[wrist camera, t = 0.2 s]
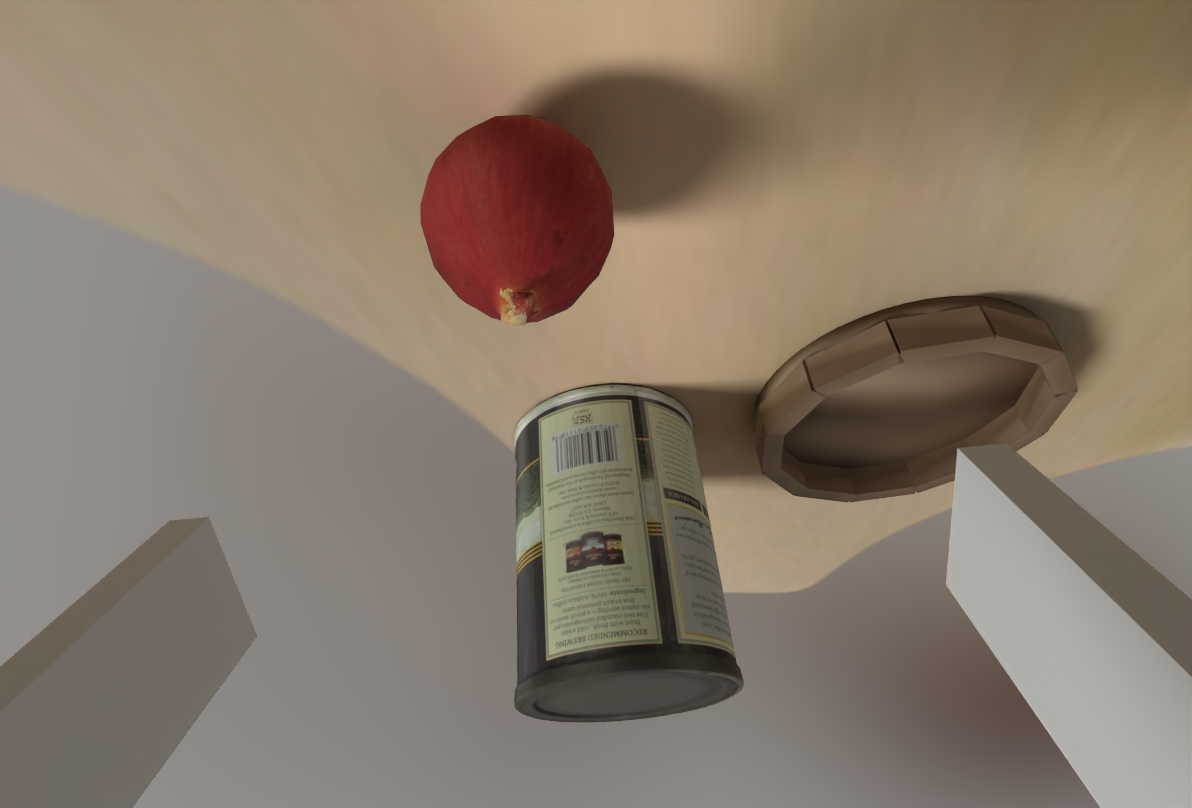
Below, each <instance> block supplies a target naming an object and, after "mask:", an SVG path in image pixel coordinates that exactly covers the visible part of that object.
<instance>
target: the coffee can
mask: <svg viewBox="0 0 1192 808" xmlns="http://www.w3.org/2000/svg"><path fill="white" fill-rule="evenodd" d="M514 448H515V459H516V547H517V548H516V549H517V648H518V649H517V650H518V653H517V667H518V668H517V673H518V681H517V687H516V689H515V699H514V701H515V702H514V703H515V708H516V709H517V710H518V711H519V712H520V713H522V714H524V715H527V716H530V717H533V718H537V719H542V720H549V721H558V722H609V721H623V720H635V719H643V718H652V717H658V716H665V715H670V714H675V713H682V712H687V711H691V710H695V709H699V708H703V707H706V706H709V705H713V704H716V703H719V702H721V701H723V700H726V699H728V698H730V697H732V696H734V695H735V694H737V693H738V692H740V691H741V690H742V688H743V678H742V674H741V670H740V668H739V666H738V665H737V663H736V658H735V652H734V647H733V642H732V637H731V632H730V626H729V621H728V615H727V610H726V605H725V599H724V595H723V590H722V584H721V579H720V574H719V568H718V563H717V558H716V553H715V547H714V542H713V537H712V532H711V525H710V521H709V516H708V511H707V505H706V500H705V495H704V489H703V484H702V479H701V473H700V468H699V463H698V458H697V452H696V447H695V442H694V435H693V423H692V419H691V416H690V414H689V413H688V411H687V410H686V409H685V408H684V406H683V405H681V404H680V403H679V402H677V401H676V400H675V399H674V398H672V397H669V396H667V395H665V394H663V393H661V392H658V391H655V390H652V389H649V388H644V387H637V386H631V385H612V384H608V385H600V386H592V387H584V388H580V389H575V390H571V391H568V392H565V393H562V394H559V395H557V396H554V397H552V398H550V399H548V400H546V401H544V402H542V403H540V404H538V405H537V406H536V407H535V408H534V409H532V410H531V411H529V412H528V413H527V414H526V415H525V416H524V417H523V418H522V419H521V421H520V422H519V424H518V426H517V428H516V430H515V434H514Z"/></svg>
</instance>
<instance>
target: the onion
mask: <svg viewBox="0 0 1192 808" xmlns="http://www.w3.org/2000/svg"><path fill="white" fill-rule="evenodd" d="M421 226H422V229H423V232H424V235H425V239H426V242H427V245H428V249H429V252H430V255H431V258H432V262H433V265H434V267H435V269H436V270H437V271H438V273H439V274H440V275H441V277H442V278H443V279H444V280H445V282H446V283H447V284H448V285H449V286H450V288H451V289H452V290H453V291H454V292H455V293H456V295H457V296H458V297H459V298H460V299H461V300H463V301H464V302H465V303H467V304H469V305H471V306H473V307H475V308H476V309H478V310H480V311H481V312H483V313H484V314H486V315H488V316H489V317H491V318H495V319H498V320H502V321H504V322H505V323H507V324H510V325H517V326H520V325H525V324H526V323H529V322H538V321H541V320H543V319H546V318H548V317H550V316H553V315H555V314H557V313H560V312H562V311H564V310H567V309H568V308H569V307H571V306H572V305H573V304H574V303H575V302H576V300H577V299H578V298H579V297H580V296H581V295H582V293H583V292H584V291H585V290H586V289H587V288H588V286H589V285H590V284H591V283H592V282H593V281H594V280H595V279H596V278H597V277H598V276H599V274H600V272H601V270H602V267H603V265H604V263H605V260H606V258H607V256H608V254H609V251H610V249H611V246H612V242H613V238H614V223H613V207H612V193H611V189H610V187H609V185H608V183H607V181H606V179H605V176H604V174H603V173H602V171H601V169H600V167H599V165H598V163H597V161H596V159H595V157H594V155H593V153H592V152H591V150H590V149H589V148H588V147H587V146H585V145H584V144H583V143H581V142H580V141H579V140H577V139H576V138H575V137H573V136H572V135H571V134H569V133H568V132H567V131H565V130H564V129H563V128H561V127H560V126H559V125H557V124H555V123H552V122H548V121H545V120H542V119H539V118H536V117H533V116H529V115H512V116H495V117H493V118H491V119H489V120H487V121H485V122H483V123H481V124H478V125H476V126H474V127H472V128H470V129H468V130H467V131H465V132H463V133H462V134H460V135H459V136H457V137H456V138H455V139H454V140H453V141H452V142H451V143H450V144H449V145H448V147H447V148H446V149H445V150H444V151H443V152H442V153H441V154H440V155H439V156H438V157H437V158H436V160H435V162H434V164H433V166H432V169H431V171H430V173H429V175H428V179H427V183H426V186H425V190H424V194H423V198H422V201H421Z"/></svg>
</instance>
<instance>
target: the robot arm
mask: <svg viewBox="0 0 1192 808" xmlns="http://www.w3.org/2000/svg"><path fill="white" fill-rule="evenodd" d="M946 585H947V587H948V588H949V590H950V591H951V593H952V594H953V595H954V597H955V598H956V600H957V601H958V602H959V604H960V606H961V607H962V608H963V610H964V611H965V613H966V614H967V616H968V617H969V619H970V620H971V621H972V623H973V624H974V626H975V627H976V629H977V630H978V631H979V633H980V634H981V636H982V637H983V639H984V640H985V642H986V643H987V644H988V646H989V647H990V649H991V650H992V652H993V653H994V655H995V656H996V657H997V659H998V660H999V662H1000V663H1001V664H1002V666H1003V668H1004V669H1005V670H1006V672H1007V673H1008V675H1009V676H1010V678H1011V679H1012V681H1013V682H1014V683H1015V685H1016V686H1017V688H1018V689H1019V691H1020V692H1021V694H1022V695H1023V696H1024V698H1025V699H1026V701H1027V702H1028V704H1029V705H1030V706H1031V708H1032V709H1033V711H1034V712H1035V714H1036V715H1037V717H1038V718H1039V720H1040V721H1041V722H1042V724H1043V725H1044V727H1045V728H1046V730H1047V731H1048V732H1049V734H1050V735H1051V737H1052V738H1053V740H1054V741H1055V743H1056V744H1057V745H1058V747H1059V748H1060V750H1061V751H1062V753H1063V754H1064V756H1065V757H1066V758H1067V760H1068V761H1069V763H1070V764H1071V765H1072V767H1073V768H1074V770H1075V771H1076V773H1077V774H1078V776H1079V777H1080V779H1081V780H1082V781H1083V783H1084V784H1085V786H1086V787H1087V789H1088V790H1089V792H1090V793H1091V795H1092V796H1093V797H1094V799H1095V800H1096V802H1097V803H1098V805H1099V806H1100V808H1192V599H1191V598H1189V597H1188V596H1187V595H1186V594H1185V593H1183V592H1182V591H1181V590H1180V589H1178V587H1176V586H1175V585H1174V584H1173V583H1172V582H1170V581H1169V580H1168V579H1167V578H1166V577H1164V576H1163V575H1162V574H1161V573H1160V572H1158V571H1157V570H1156V569H1155V568H1154V567H1153V566H1151V565H1150V564H1149V563H1148V562H1147V561H1145V560H1144V559H1143V558H1142V557H1140V556H1139V555H1138V554H1137V553H1136V552H1135V551H1134V550H1132V549H1131V548H1130V547H1129V546H1128V545H1126V544H1125V543H1124V542H1123V541H1122V540H1120V539H1119V538H1118V537H1117V536H1116V535H1114V534H1113V533H1112V532H1111V531H1110V530H1109V529H1107V528H1106V527H1105V526H1104V525H1103V524H1101V523H1100V522H1099V521H1098V520H1097V519H1095V518H1094V517H1093V516H1092V515H1091V514H1089V513H1088V512H1087V511H1086V510H1085V509H1084V508H1082V507H1081V506H1080V505H1079V504H1077V503H1076V502H1075V501H1074V500H1073V499H1072V498H1070V497H1069V496H1068V495H1067V494H1066V493H1064V492H1063V491H1062V490H1061V489H1060V488H1058V487H1057V486H1056V485H1055V484H1054V483H1053V482H1051V481H1050V480H1049V479H1048V478H1047V477H1045V476H1044V475H1043V474H1042V473H1041V472H1039V471H1038V470H1037V469H1036V468H1035V467H1034V466H1032V465H1031V464H1030V463H1029V462H1028V461H1026V460H1025V459H1024V458H1023V457H1022V456H1020V455H1019V454H1018V453H1017V452H1016V451H1014V450H1013V449H1012V448H1011V447H1010V446H1009V445H1007V444H995V445H984V446H973V447H962V448H957V459H956V471H955V483H954V495H953V507H952V520H951V532H950V544H949V555H948V567H947V579H946ZM256 637H257V635H256V632H255V630H254V627H253V625H252V623H251V620H250V617H249V615H248V613H247V610H246V608H245V605H244V603H243V600H242V598H241V595H240V593H239V590H238V588H237V585H236V583H235V580H234V578H233V576H232V573H231V571H230V568H229V566H228V563H227V561H226V558H225V556H224V553H223V551H222V549H221V546H220V543H219V541H218V538H217V536H216V533H215V531H214V529H213V526H212V524H211V521H210V519H209V517H205V518H193V519H182V520H171V521H169V522H168V523H166V524H165V525H164V526H163V527H162V528H161V529H159V530H158V531H157V532H156V533H155V534H154V535H153V536H151V537H150V538H149V539H148V540H147V541H145V542H144V543H143V544H142V545H141V546H140V547H139V548H138V549H136V550H135V551H134V552H133V553H132V554H130V555H129V556H128V557H127V558H126V559H125V560H123V561H122V562H121V563H120V564H119V565H118V566H116V567H115V568H114V569H113V570H112V571H111V572H109V573H108V574H107V575H106V576H105V577H104V578H103V579H101V580H100V581H99V582H98V583H97V584H96V585H94V586H93V587H92V588H91V589H90V590H89V591H87V592H86V593H85V594H84V595H83V596H82V597H80V598H79V599H78V600H77V601H76V602H75V603H74V604H72V605H71V606H70V607H69V608H68V609H67V610H65V611H64V612H63V613H62V614H61V615H60V616H58V617H57V618H56V619H55V620H54V621H53V622H51V623H50V624H49V625H48V626H47V627H46V628H45V629H43V630H42V631H41V632H40V633H39V634H38V635H36V637H34V638H33V639H32V640H31V641H30V642H28V643H27V644H26V645H25V646H24V647H22V648H21V649H20V650H19V651H18V652H17V653H15V654H14V655H13V656H12V657H11V658H10V659H9V660H7V661H6V662H5V663H4V664H3V665H2V666H0V808H133V806H134V805H135V804H136V802H137V801H138V799H139V798H140V796H141V795H142V794H143V793H144V791H145V790H146V788H147V787H148V786H149V784H150V783H151V781H152V780H153V779H154V777H155V776H156V775H157V773H158V772H159V771H160V769H161V768H162V766H163V765H164V763H165V762H166V761H167V760H168V758H169V757H170V755H171V754H172V753H173V751H174V750H175V748H176V747H177V746H178V744H179V743H180V741H181V740H182V739H183V737H184V736H185V735H186V733H187V732H188V731H189V729H190V728H191V726H192V725H193V724H194V722H195V721H196V720H197V718H198V717H199V715H200V714H201V713H202V711H203V710H204V709H205V707H206V706H207V704H208V703H209V702H210V700H211V699H212V697H213V696H214V695H215V693H216V692H217V691H218V689H219V688H220V686H221V685H222V684H223V682H224V681H225V680H226V678H227V677H228V676H229V674H230V673H231V671H232V670H233V669H234V667H235V666H236V665H237V663H238V662H239V660H240V659H241V658H242V656H243V655H244V654H245V652H246V651H247V649H248V648H249V647H250V645H251V644H252V642H253V641H254V640H255V638H256Z"/></svg>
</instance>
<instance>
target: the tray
mask: <svg viewBox="0 0 1192 808" xmlns="http://www.w3.org/2000/svg"><path fill="white" fill-rule="evenodd" d="M1077 390H1078V388H1077V385H1076V382H1075V380H1074V377H1073V374H1072V372H1071V369H1070V366H1069V364H1068V361H1067V358H1066V356H1065V353H1064V352H1063V350H1062V348H1061V347H1060V345H1059V343H1058V342H1057V340H1056V338H1055V337H1054V335H1053V333H1052V332H1051V330H1050V328H1049V327H1048V325H1047V323H1045V322H1043V321H1041V320H1040V319H1039V318H1038V317H1036V316H1035V315H1034V314H1033V313H1032V312H1030V311H1029V310H1027V309H1025V308H1023V307H1022V306H1019V305H1017V304H1014V303H1011V302H1008V301H1004V300H999V299H994V298H987V297H973V296H963V297H944V298H936V299H927V300H922V301H917V302H912V303H907V304H903V305H899V306H896V307H892V308H888V309H885V310H881V311H879V312H876V313H873V314H870V315H867V316H865V317H862V318H859V319H857V320H855V321H852V322H850V323H848V324H846V325H843V326H841V327H839V328H837V329H835V330H833V331H831V332H829V333H828V334H826V335H824V336H822V337H820V338H818V339H817V340H815V341H814V342H812V343H811V344H809V345H808V346H806V347H805V348H803V349H802V350H800V351H799V352H798V353H796V354H795V355H794V356H793V357H791V358H790V359H789V360H788V361H786V362H785V363H784V364H783V365H782V366H781V367H780V368H779V369H778V370H777V371H776V372H775V373H774V374H773V376H772V377H771V378H770V379H769V380H768V382H767V383H766V384H765V386H764V388H763V389H762V391H761V393H760V394H759V397H758V399H757V402H756V404H755V409H754V426H755V430H756V443H755V445H756V450H757V454H758V458H759V462H760V466H761V470H762V473H763V474H764V475H765V476H767V477H768V478H770V479H771V480H772V481H774V482H775V483H777V484H778V485H779V486H781V487H782V488H784V489H785V490H786V491H788V492H789V493H791V494H792V495H795V496H800V497H808V498H816V499H825V500H833V501H841V502H849V501H850V502H856V501H863V500H871V499H878V498H886V497H893V496H901V495H908V494H915V492H917V493H919V492H922V491H925V490H928V489H931V488H934V487H937V486H940V485H942V484H945V483H948V482H951V481H954V480H955V471H956V459H957V448H962V447H973V446H984V445H995V444H1007V445H1009V446H1010V447H1011V448H1012V449H1013V450H1014V451H1018V450H1019V449H1021V448H1023V447H1024V446H1026V445H1028V444H1029V443H1031V442H1033V441H1034V440H1036V439H1038V438H1039V437H1041V436H1043V435H1044V434H1045V433H1046V432H1048V430H1049V429H1050V428H1051V426H1052V425H1053V424H1054V422H1055V421H1056V420H1057V418H1058V417H1059V416H1060V414H1061V413H1062V411H1063V410H1064V409H1065V407H1066V406H1067V405H1068V403H1069V402H1070V401H1071V399H1072V398H1073V397H1074V395H1075V394H1076V393H1077Z"/></svg>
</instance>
